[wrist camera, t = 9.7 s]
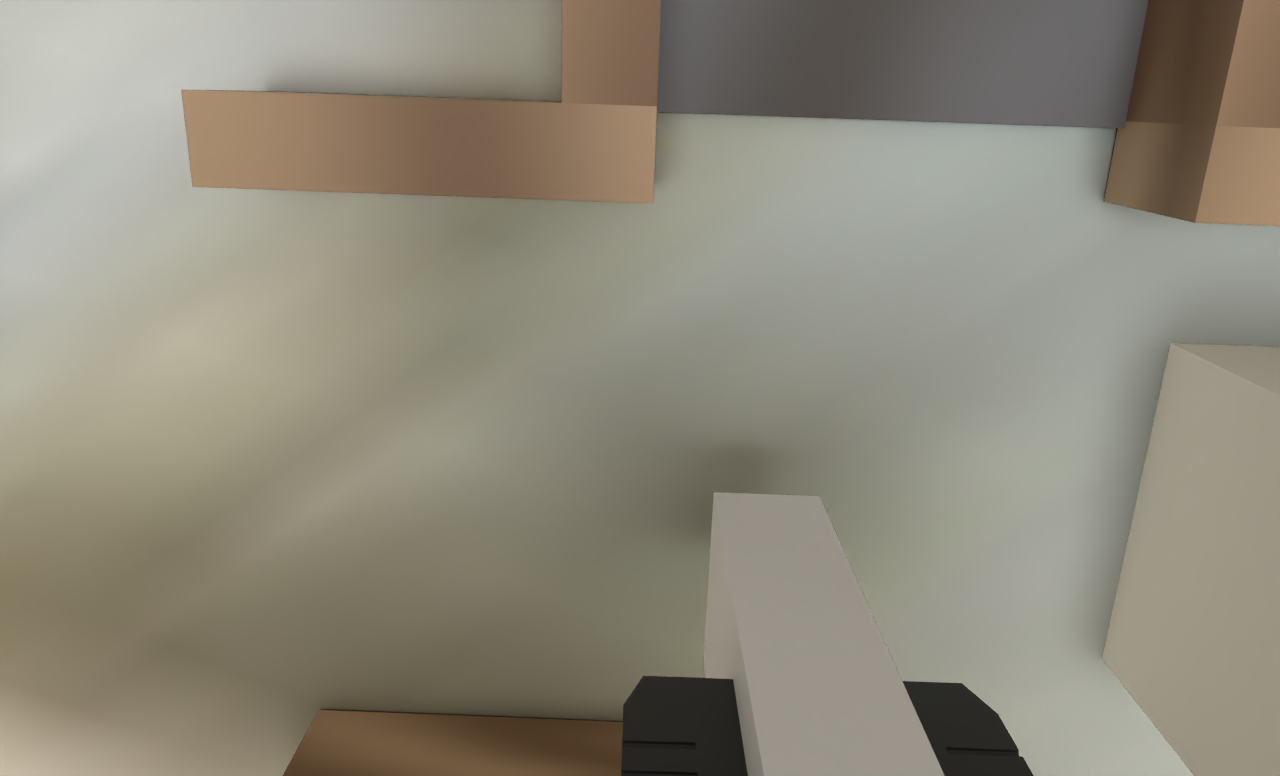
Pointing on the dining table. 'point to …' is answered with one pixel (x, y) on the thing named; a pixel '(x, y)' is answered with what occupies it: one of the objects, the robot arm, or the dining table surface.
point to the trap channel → (767, 86)
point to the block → (1207, 564)
